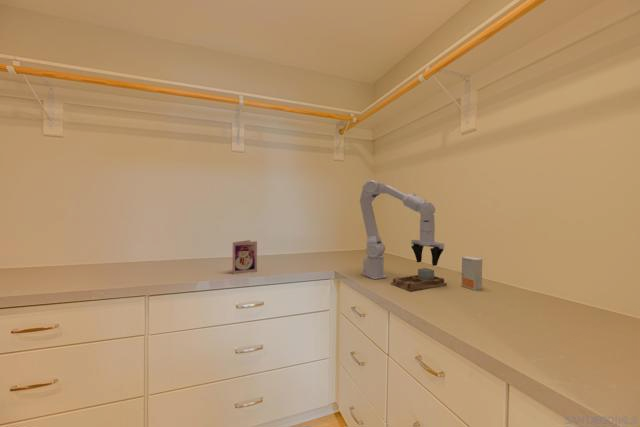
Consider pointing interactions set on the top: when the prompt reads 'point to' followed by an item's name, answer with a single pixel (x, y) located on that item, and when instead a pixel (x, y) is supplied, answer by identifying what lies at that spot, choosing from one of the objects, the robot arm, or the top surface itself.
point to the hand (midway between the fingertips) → (426, 263)
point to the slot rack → (417, 283)
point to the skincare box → (472, 273)
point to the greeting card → (244, 257)
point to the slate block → (426, 274)
